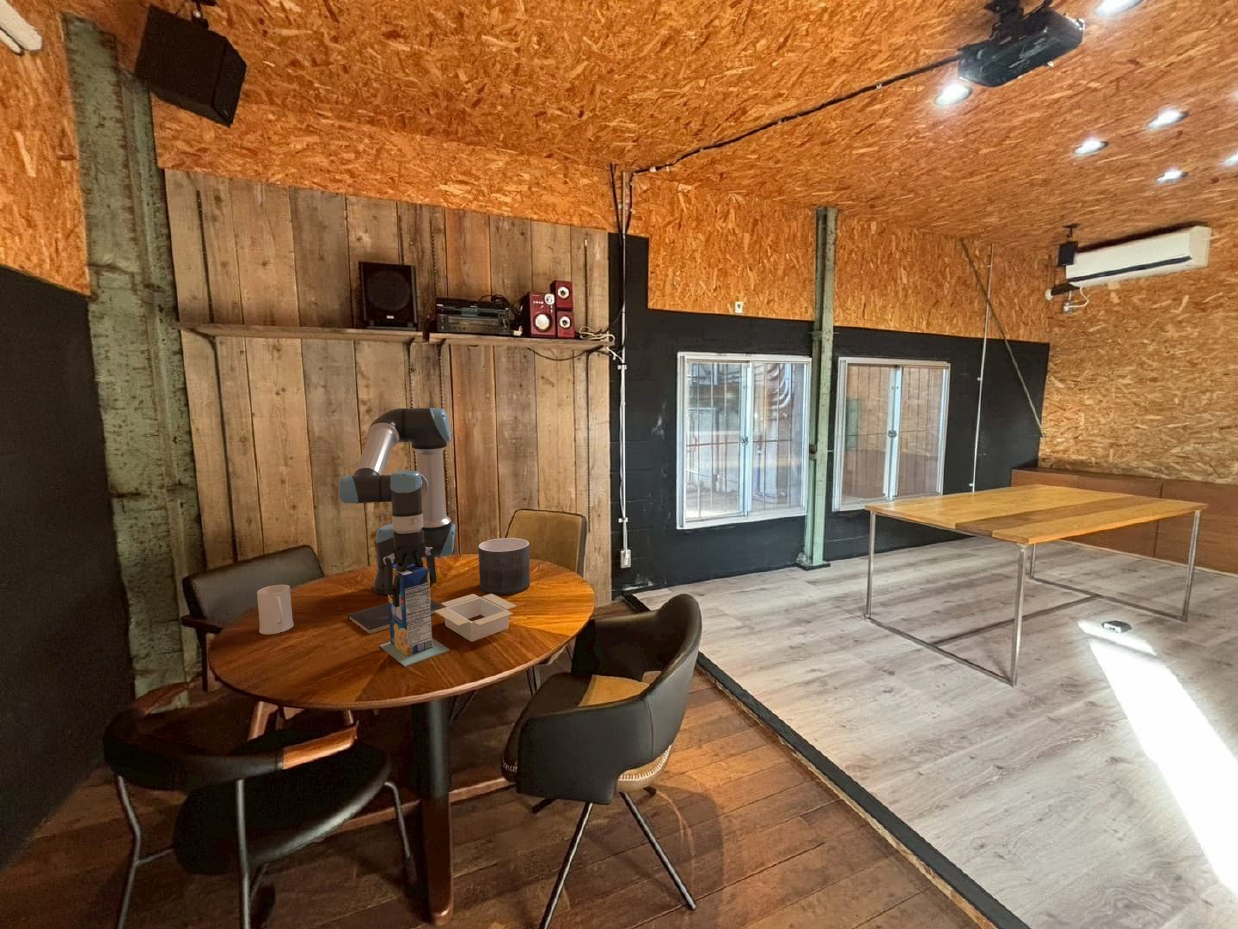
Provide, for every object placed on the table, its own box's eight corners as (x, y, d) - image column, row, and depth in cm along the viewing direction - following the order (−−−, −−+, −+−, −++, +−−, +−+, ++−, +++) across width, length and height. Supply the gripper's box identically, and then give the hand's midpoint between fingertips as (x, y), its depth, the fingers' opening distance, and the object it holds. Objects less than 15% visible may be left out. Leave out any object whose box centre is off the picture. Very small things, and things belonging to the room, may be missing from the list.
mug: (297, 633, 149) (294, 593, 148) (261, 641, 144) (258, 600, 142) (291, 619, 158) (288, 582, 157) (258, 627, 153) (254, 588, 152)
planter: (540, 584, 190) (539, 542, 188) (505, 599, 175) (504, 554, 173) (505, 575, 199) (504, 535, 197) (469, 589, 184) (467, 546, 182)
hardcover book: (443, 613, 165) (443, 606, 165) (369, 636, 148) (369, 629, 148) (419, 600, 176) (419, 593, 175) (348, 620, 159) (347, 613, 159)
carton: (428, 625, 154) (427, 607, 153) (485, 607, 168) (484, 590, 167) (466, 650, 139) (465, 629, 138) (525, 628, 152) (525, 609, 152)
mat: (379, 646, 141) (379, 645, 141) (422, 632, 150) (422, 631, 149) (404, 667, 130) (404, 665, 130) (449, 650, 138) (449, 649, 138)
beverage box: (407, 656, 134) (403, 575, 132) (390, 643, 142) (386, 565, 139) (432, 647, 139) (429, 569, 137) (414, 635, 147) (411, 560, 144)
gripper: (377, 539, 126) (382, 629, 129) (448, 526, 140) (451, 607, 143) (365, 533, 132) (370, 620, 134) (435, 521, 145) (439, 600, 148)
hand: (412, 613), depth 139 cm, fingers open, 6 cm apart
